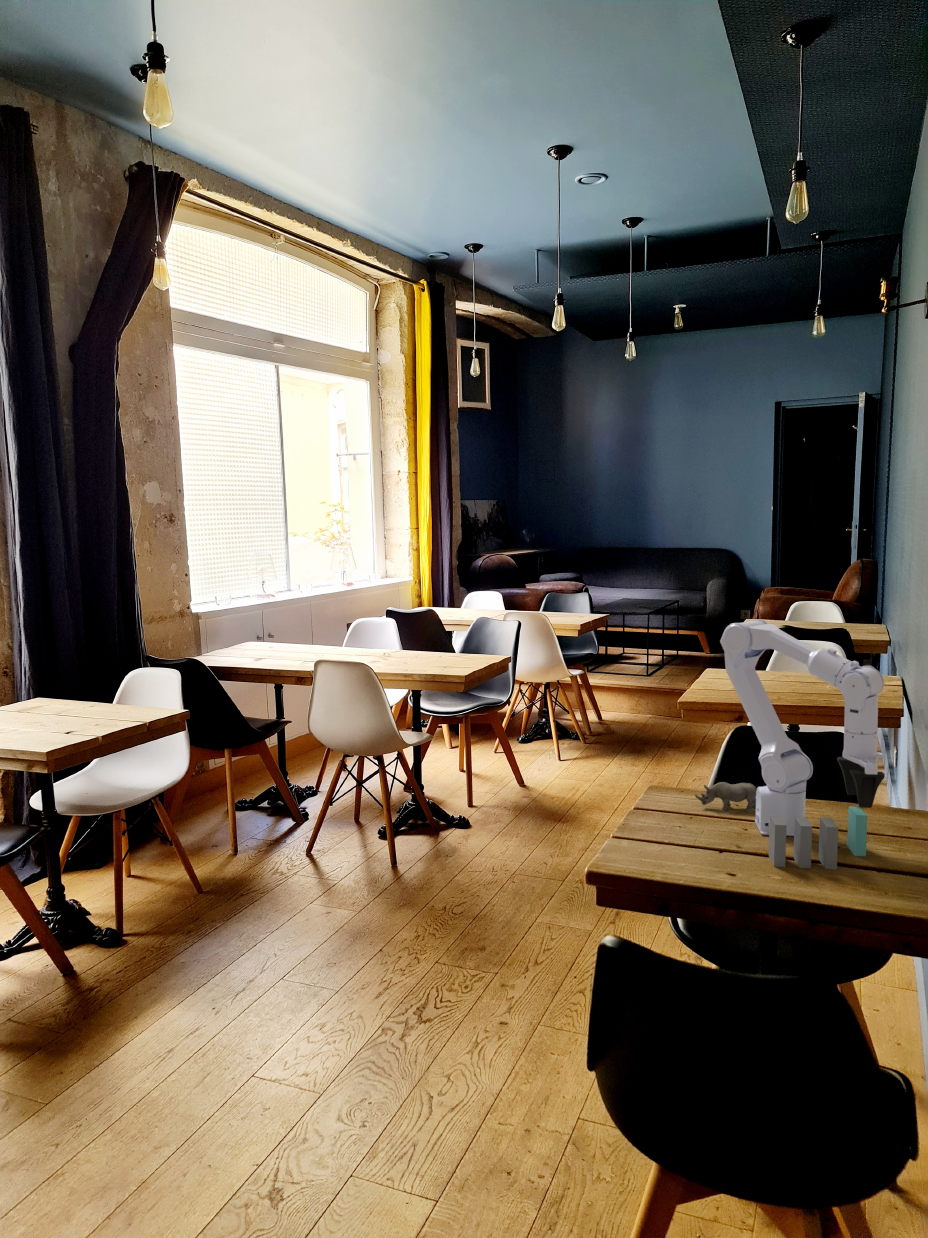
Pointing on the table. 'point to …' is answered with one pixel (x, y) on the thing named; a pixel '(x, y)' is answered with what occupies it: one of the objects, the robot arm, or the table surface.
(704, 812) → the table surface
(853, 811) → the teal domino
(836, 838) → the grey domino block
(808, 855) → the gray domino
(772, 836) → the gray domino
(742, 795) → the rhino figurine
